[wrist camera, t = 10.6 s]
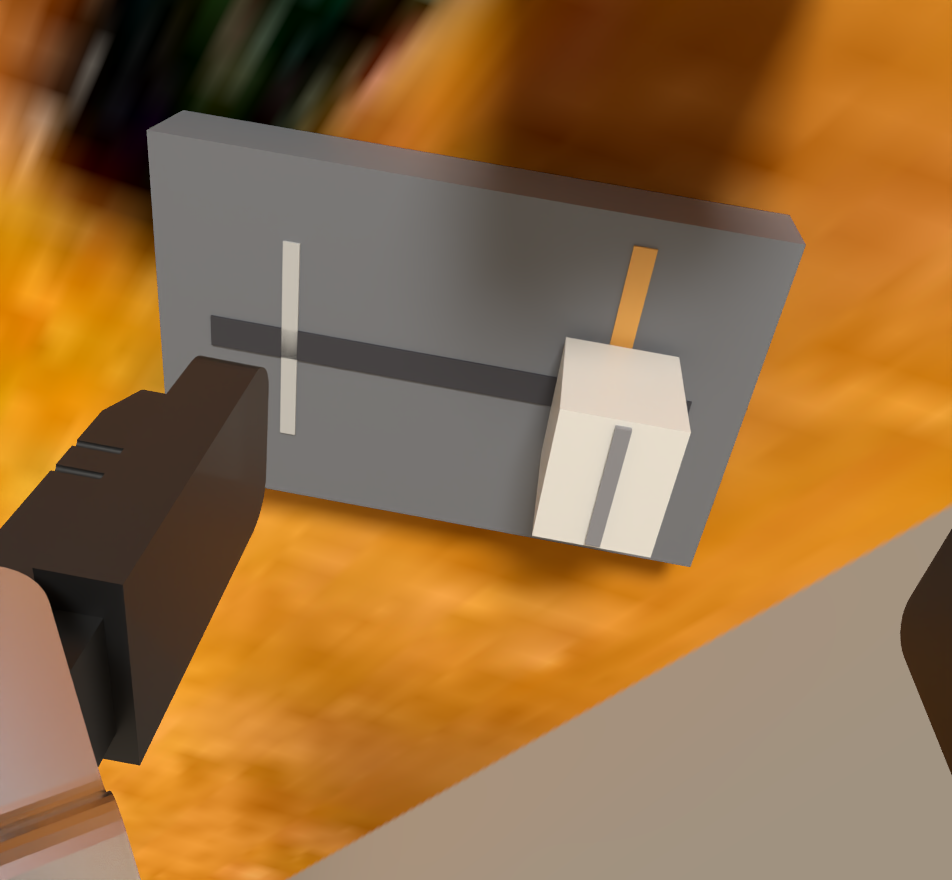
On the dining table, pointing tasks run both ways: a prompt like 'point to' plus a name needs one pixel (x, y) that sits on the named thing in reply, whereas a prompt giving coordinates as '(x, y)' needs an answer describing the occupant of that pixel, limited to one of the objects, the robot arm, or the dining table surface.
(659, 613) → the dining table surface
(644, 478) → the slider knob
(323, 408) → the console board
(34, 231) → the dining table surface
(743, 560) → the dining table surface
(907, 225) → the dining table surface
